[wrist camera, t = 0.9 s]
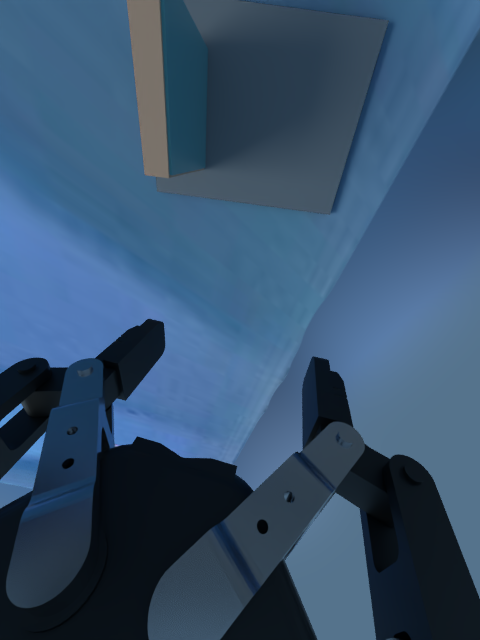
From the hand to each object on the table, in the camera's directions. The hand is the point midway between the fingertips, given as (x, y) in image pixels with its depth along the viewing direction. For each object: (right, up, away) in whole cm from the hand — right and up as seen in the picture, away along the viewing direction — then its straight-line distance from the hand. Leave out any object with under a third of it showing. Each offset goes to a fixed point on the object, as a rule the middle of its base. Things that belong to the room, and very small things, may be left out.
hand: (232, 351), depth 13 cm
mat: (+2, +23, +13) cm, 27 cm away
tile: (-4, +24, +13) cm, 27 cm away
